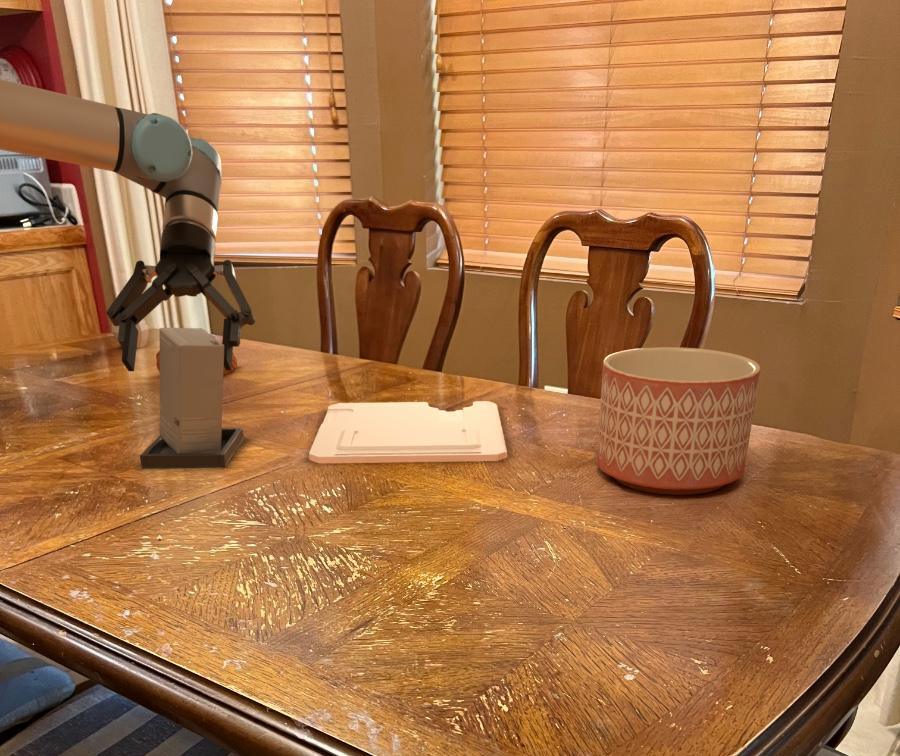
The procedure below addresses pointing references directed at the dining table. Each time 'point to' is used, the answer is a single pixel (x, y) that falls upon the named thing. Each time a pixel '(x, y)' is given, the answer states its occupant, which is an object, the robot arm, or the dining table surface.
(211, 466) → the pad
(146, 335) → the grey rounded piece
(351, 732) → the dining table surface
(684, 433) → the planter
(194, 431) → the cosmetic box
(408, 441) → the tray
